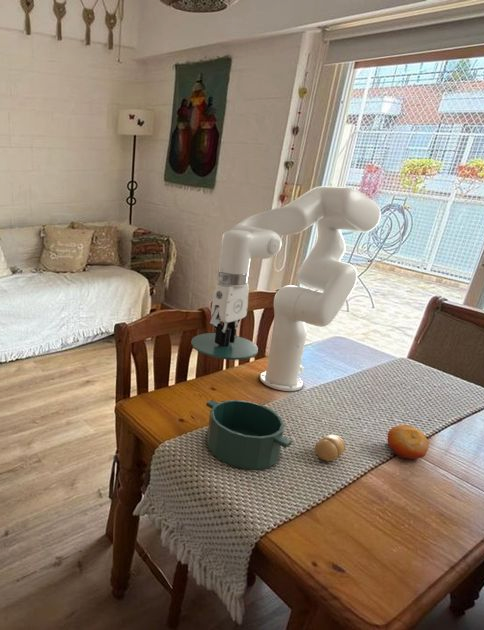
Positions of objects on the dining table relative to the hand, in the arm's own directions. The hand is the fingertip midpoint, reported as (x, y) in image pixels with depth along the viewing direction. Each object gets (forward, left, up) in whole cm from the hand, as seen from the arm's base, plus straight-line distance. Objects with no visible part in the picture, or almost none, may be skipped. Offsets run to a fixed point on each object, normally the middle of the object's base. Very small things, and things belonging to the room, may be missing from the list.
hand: (224, 342), depth 121 cm
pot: (+12, +17, -19) cm, 28 cm away
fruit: (-18, +41, -20) cm, 49 cm away
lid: (0, 0, -1) cm, 1 cm away
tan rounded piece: (-2, +31, -19) cm, 37 cm away
